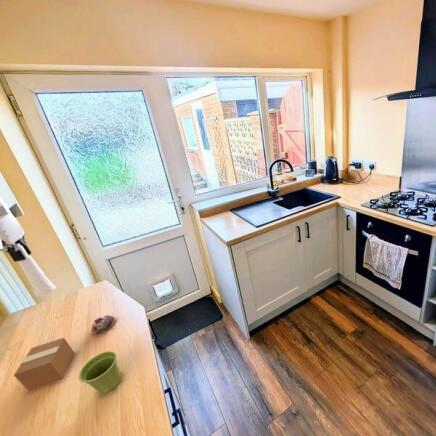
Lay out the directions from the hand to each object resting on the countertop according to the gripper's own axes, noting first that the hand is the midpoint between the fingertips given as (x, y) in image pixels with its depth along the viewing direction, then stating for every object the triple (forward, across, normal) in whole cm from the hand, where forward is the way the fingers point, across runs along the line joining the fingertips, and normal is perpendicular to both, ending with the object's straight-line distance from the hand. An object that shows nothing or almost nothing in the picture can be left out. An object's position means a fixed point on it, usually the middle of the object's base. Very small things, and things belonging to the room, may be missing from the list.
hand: (23, 257), depth 92 cm
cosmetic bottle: (+17, 0, 0) cm, 17 cm away
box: (+31, +29, +7) cm, 43 cm away
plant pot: (+31, +43, +27) cm, 60 cm away
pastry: (+31, +15, +18) cm, 39 cm away
